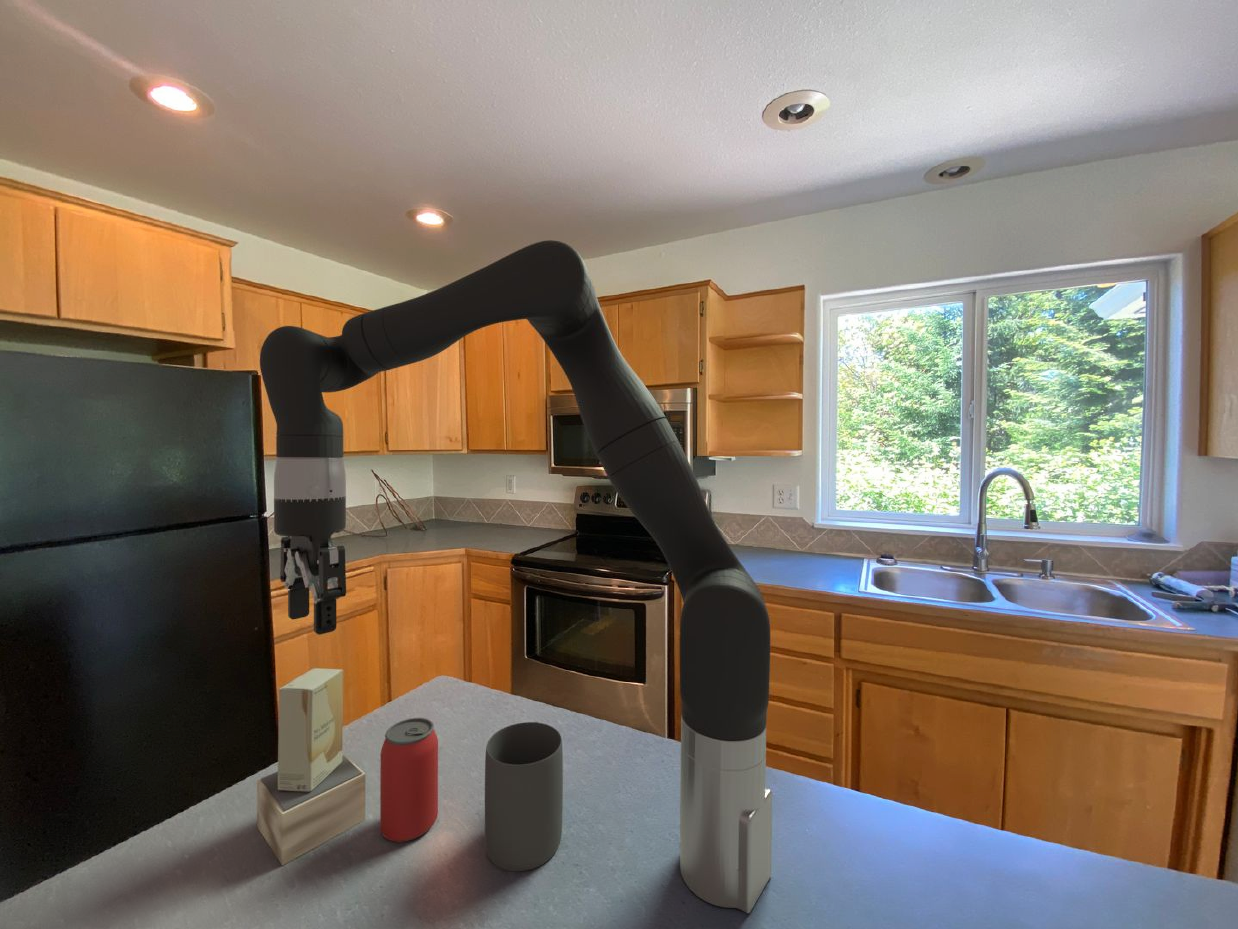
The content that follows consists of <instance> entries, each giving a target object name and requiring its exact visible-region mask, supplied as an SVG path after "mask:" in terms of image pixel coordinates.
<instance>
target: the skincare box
mask: <svg viewBox="0 0 1238 929" xmlns="http://www.w3.org/2000/svg"><path fill="white" fill-rule="evenodd" d="M343 700H344V669H339V668H317V667H315V668H312V669H310V670H309V671H307V672H305V673H304V674H302V675H299V676H298V677H296V678H294V679H293V680H292V681H290V682H288V683H287V684H284V686H281V687H280V688H279V690H278V733H277V734H278V736H277V737H278V740H277V742H278V743H277V745H278V746H277V748H278V749H277V754H278V755H277V772H278V790H287V791H308V792H310V791H312V790H313V789H314V788H315V787H316V786H317V785H318V784H319V783H320V782H322V781H323V780H324V779H325V778H326V777H327V776H328V775H329V774H330V773H331V772H332V771H333V770H334V769H335V768H336V767H337V766H338V765H339V764H340V763H341V762H342V753H343V728H344V726H343V725H344V724H343V723H344V718H343V717H344V716H343V710H344V707H343V706H344V704H343V702H344V701H343Z"/></svg>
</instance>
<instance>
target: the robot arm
mask: <svg viewBox="0 0 1238 929" xmlns="http://www.w3.org/2000/svg"><path fill="white" fill-rule="evenodd" d="M519 320H527V321H528V322H529V324H530V326H532V328H534V330H535V331H536V332H537V333H538V335H540V337H541V339H543V341H544V343H545V344H546V346H547V347H548V349H549V350H550V351H551V353H552V354H553V356H554V358H555V359H556V361H557V363H558V364H559V366H560V367H561V369H562V371H563V372H564V374H565V376H566V378H567V380H568V381H569V384H570V387H571V389H572V393H573V395H574V397H575V402H576V404H577V409H578V410H579V416H580V418H581V420H582V423H583V427H584V429H585V432H586V435H587V437H588V439H589V441H590V444H591V446H592V448H593V451H594V452H595V455H596V457H597V459H598V461H599V463H600V465H601V466H602V468H603V470H604V472H605V474H606V476H607V478H608V480H609V482H610V483H611V485H612V487H613V489H614V490H615V491H616V493H617V495H618V496H619V497H620V499H621V500H622V501H623V503H624V505H626V507H627V508H628V509H629V511H630V513H632V515H633V516H634V517H635V518H636V519H637V520H638V522H639V524H641V525H642V526H643V528H644V529H645V530H646V531H647V533H648V534H649V535H650V536H651V538H652V539H653V540H654V541H655V542H656V543H655V544H657V546H658V547H659V549H660V551H661V552H662V554H663V556H664V558H665V561H666V562H667V565H668V567H669V570H670V572H671V574H672V575H673V578H674V580H675V582H676V585H677V588H678V590H679V592H680V596H681V598H682V602H683V604H682V608H681V613H680V620H679V694H680V695H679V696H680V702H681V703H680V704H681V705H680V708H681V713H680V714H681V715H680V718H681V719H680V720H681V721H680V793H679V796H680V800H679V803H680V804H679V839H680V840H679V869H680V875H681V877H682V879H683V881H684V884H686V886H687V887H688V889H689V890H690V892H691V891H692V893H693V894H695V896H696V897H698V898H700V899H702V900H703V901H704V902H706V903H709V904H711V905H713V906H716V907H721V908H731V909H733V908H735V909H739V910H740V911H743V912H744V913H746V914H750V913H751V911H752V909H753V907H754V906H755V904H756V903H757V901H758V899H759V898H760V895H761V894H762V893H763V891H764V889H765V888H766V885H767V884H768V882H769V880H770V879H771V877H772V859H773V858H772V853H773V851H772V849H773V848H772V845H773V791H772V790H771V789H770V788H768V787H766V781H767V780H766V773H767V771H766V770H767V769H766V768H767V766H766V765H767V761H766V760H767V712H768V708H769V701H770V677H771V674H770V673H771V622H770V617H769V616H770V615H769V611H768V609H767V606H766V602H765V599H764V596H763V594H762V591H761V590H760V588H759V586H758V585H757V583H756V582H755V580H754V579H753V578H752V577H751V575H750V574H749V573H748V571H747V570H746V568H745V567H744V565H743V564H742V563H741V562H740V559H738V557H737V556H736V554H735V553H734V551H733V550H732V548H731V546H730V545H729V543H728V541H727V540H726V539H725V537H724V536H723V534H722V532H721V530H720V529H719V527H718V526H717V524H716V522H715V520H714V519H713V517H712V514H711V511H710V509H709V507H708V504H707V502H706V500H705V497H704V495H703V491H702V489H701V488H700V484H699V483H698V480H697V477H696V475H695V473H694V470H693V468H692V466H691V464H690V462H689V459H688V458H687V455H686V454H685V452H684V449H683V447H682V445H681V443H680V441H679V439H678V437H677V436H676V433H675V431H674V430H673V428H672V426H671V424H670V423H669V420H668V418H667V416H666V415H665V414H664V412H663V410H662V408H661V407H660V405H659V403H658V402H657V401H656V399H655V398H654V396H653V395H652V393H651V392H650V390H649V389H648V388H647V387H646V385H645V384H644V383H643V381H642V379H641V378H640V377H639V376H638V374H636V372H635V370H633V368H632V367H631V366H630V365H629V363H628V362H627V360H626V359H625V357H624V356H623V355H622V353H621V351H620V349H619V348H618V346H617V344H616V341H615V339H614V338H613V334H612V332H611V330H610V328H609V325H608V323H607V321H606V318H605V316H604V313H603V310H602V308H601V305H600V302H599V300H598V296H597V293H596V289H595V286H594V284H593V280H592V279H591V275H590V273H589V270H588V268H587V265H586V263H585V261H584V259H583V258H582V256H581V255H580V253H579V252H578V251H577V250H576V249H575V248H574V247H572V246H571V245H569V244H567V243H566V242H562V241H559V240H551V239H549V240H542V241H538V242H535V243H531V244H529V245H527V246H525V247H523V248H521V249H518V250H516V251H513V252H512V253H509V254H508V255H506V256H504V257H502V258H500V259H498V260H496V261H494V262H492V263H490V264H488V265H486V266H483V267H482V268H480V269H477V270H476V271H474V272H471V273H470V274H467V275H466V276H463V277H462V278H459V279H457V280H455V281H453V282H450V283H449V284H446V285H444V286H442V287H439V288H437V289H435V290H433V291H431V292H428V293H424V294H422V295H419V296H417V297H413V298H411V299H408V300H404V301H402V302H398V303H394V304H390V305H386V306H384V307H383V306H382V307H381V308H377V309H374V310H370V311H368V312H364V313H360V314H357V315H355V316H353V317H351V318H349V319H348V320H347V321H346V322H345V323H344V325H343V326H342V330H341V334H340V335H337V336H330V337H327V336H326V335H322V334H319V333H316V332H314V331H311V330H308V329H306V328H303V327H301V326H295V325H283V326H279V327H277V328H275V329H274V330H273V331H271V332H270V333H269V334H268V335H267V336H266V338H265V339H264V341H263V342H262V346H261V349H260V354H259V368H260V374H261V378H262V381H263V384H264V388H265V391H266V395H267V398H268V399H267V400H268V402H269V403H268V404H269V405H270V408H271V411H272V414H273V417H274V420H275V424H276V431H275V432H276V433H275V434H276V436H275V439H276V441H275V443H276V446H275V448H276V449H275V452H276V454H275V455H276V459H275V469H274V474H273V532H274V534H276V535H278V536H281V538H280V564H279V565H280V569H279V573H280V576H279V580H280V582H281V583H284V588H285V589H286V590H287V616H288V619H290V620H298V619H302V618H306V617H308V616H310V615H309V614H310V591H311V596H312V599H313V632H314V633H315V634H316V635H319V636H321V635H324V634H327V633H328V634H329V633H333V632H334V631H336V629H337V600H339V599H340V598H342V597H343V598H344V597H345V596H347V577H346V576H347V575H346V574H347V573H346V570H347V569H346V549H345V545H337V546H333V541H332V536H333V534H335V533H340V532H342V531H345V529H346V527H347V519H346V518H347V508H346V507H347V506H346V504H347V501H346V500H347V488H346V486H347V478H346V470H345V461H344V460H345V459H344V423H343V420H342V418H341V416H340V415H339V414H337V413H336V412H334V411H332V410H330V409H329V408H328V406H326V404H325V400H324V397H323V393H325V394H328V393H336V392H337V393H338V392H341V391H345V390H349V389H351V388H353V387H355V386H358V385H360V384H362V383H363V382H366V381H367V380H370V379H371V378H374V377H375V376H377V374H379V373H382V372H386V371H389V370H394V369H397V368H400V367H405V366H408V365H411V364H415V363H418V362H421V361H425V360H427V359H430V358H432V357H434V356H436V355H439V354H440V353H442V352H444V351H445V350H446V349H448V348H450V347H451V346H453V345H454V344H455V343H457V342H458V341H459V340H461V339H462V338H464V337H466V336H467V335H469V334H472V333H474V332H476V331H478V330H480V329H483V328H486V327H488V326H492V325H495V324H500V323H505V322H511V321H519Z"/></svg>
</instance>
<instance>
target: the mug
mask: <svg viewBox="0 0 1238 929" xmlns="http://www.w3.org/2000/svg"><path fill="white" fill-rule="evenodd" d="M563 755H564V754H563V740H562V736H561V733H560V732H559V730H557V729H556V728H555V727H553V726H551V725H549V724H546V723H541V722H538V721H534V722H533V721H527V722H525V721H524V722H518V723H514V724H510V725H507V726H505V727H503V728H501V729H499V730H498V731H496V732H495V733H493V735H491V737H489V739H488V741H487V744H486V748H485V759H484V760H485V762H484V764H485V765H484V770H485V771H484V838H485V840H484V841H485V850H486V854H487V856H488V858H489V860H490V862H492V863H493V864H494V865H495V866H497V867H498V868H500V869H502V870H505V871H509V872H524V871H525V872H526V871H529V870H533V869H535V868H538V867H540V866H542V865H543V864H545V863H546V862H548V861H549V860H550V859H551V858H553V856H554V855H555V854H556V853H557V851H558V849H559V846H560V844H561V840H562V832H563V810H564V809H563V807H564V806H563V805H564V804H563V802H564V801H563V798H564V796H563V795H564V794H563V793H564V791H563V790H564V780H563V779H564V775H563V774H564V773H563V772H564V766H563V763H564V762H563V761H564V760H563V759H564V757H563Z"/></svg>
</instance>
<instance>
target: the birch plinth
mask: <svg viewBox="0 0 1238 929" xmlns="http://www.w3.org/2000/svg"><path fill="white" fill-rule="evenodd" d="M256 821H257V822H256V825H257V826H256V827H257V829H258V830H259V832H260V833H261V835H262V837H263V838H264V839H265V841H266V842H267V844H268V846H269V847H270V849H271V850H272V852H273V854H274V855H275V857H276V858H277V860H278V861H279V863H280V864H281V866H284V865H287V864H288V863H290V862H292V861H294V860H295V859H297V858H298V857H300V856H302V855H304V854H306V853H308V852H310V851H311V850H314V849H315V848H317V847H318V846H320V845H323V844H325V843H326V842H327V841H329V840H331V839H333V838H335V837H336V836H338V835H340V834H342V833H343V832H345V831H348V830H349V829H350V828H352V827H355V826H357V825H358V824H359V823H361V822H363V821H366V773H365V772H364V771H363V770H362V769H361V768H359V767H358V765H357V764H355V763H354V762H353V761H352V760H351V759H350V758H349V757H347V755H345V753H343V752H342V762H341V763H340V764H339V765H338V766H337V767H336V768H335V769H334V770H333V771H332V772H331V773H330V774H329V775H328V776H327V777H326V778H325V779H324V780H323V781H322V782H320V783H319V784H318V785H317V786H316V787H315V788H314V789H313V790H312V791H310V792H308V791H287V790H278V771H276V772H273V773H271V774H269V775H266V776H264V777H263V776H262V777H261V778H259V779H257V780H256Z"/></svg>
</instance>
